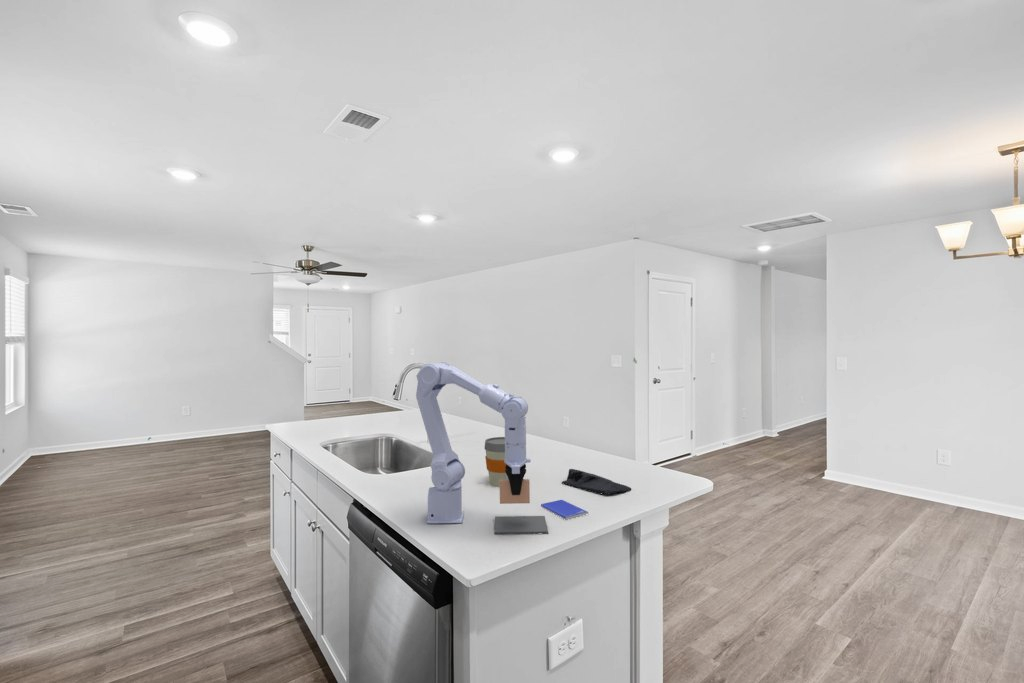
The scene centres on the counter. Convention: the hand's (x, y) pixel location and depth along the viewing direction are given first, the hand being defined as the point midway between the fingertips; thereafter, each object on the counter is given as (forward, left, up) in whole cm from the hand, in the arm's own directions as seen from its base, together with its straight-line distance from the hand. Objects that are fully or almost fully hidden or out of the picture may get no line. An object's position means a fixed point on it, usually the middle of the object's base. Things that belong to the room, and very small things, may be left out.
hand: (515, 493), depth 128 cm
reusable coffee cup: (-4, +40, -9) cm, 41 cm away
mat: (+1, +1, -9) cm, 9 cm away
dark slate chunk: (+28, +35, -10) cm, 46 cm away
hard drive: (+14, +12, -10) cm, 21 cm away
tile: (0, 0, -2) cm, 2 cm away
